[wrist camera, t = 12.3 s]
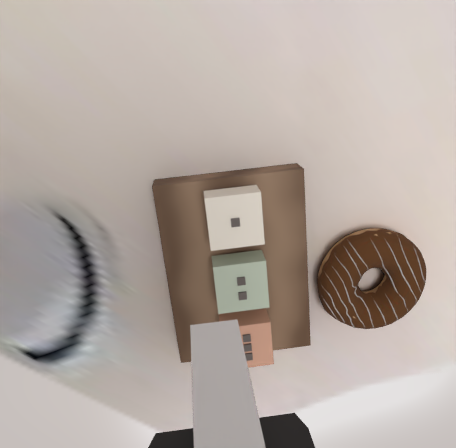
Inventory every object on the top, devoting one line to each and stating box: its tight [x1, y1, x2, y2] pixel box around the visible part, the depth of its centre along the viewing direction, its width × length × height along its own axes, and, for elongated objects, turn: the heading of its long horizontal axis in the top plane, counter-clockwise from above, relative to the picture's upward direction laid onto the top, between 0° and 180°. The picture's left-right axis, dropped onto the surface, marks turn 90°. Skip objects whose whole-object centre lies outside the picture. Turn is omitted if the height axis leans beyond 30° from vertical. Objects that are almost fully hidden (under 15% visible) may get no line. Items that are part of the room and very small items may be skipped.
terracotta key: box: [219, 308, 274, 367], centre depth 39 cm, size 4×4×3 cm
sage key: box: [212, 250, 269, 314], centre depth 37 cm, size 4×4×3 cm
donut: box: [317, 228, 426, 329], centre depth 41 cm, size 11×11×4 cm
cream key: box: [204, 185, 265, 251], centre depth 35 cm, size 4×4×3 cm
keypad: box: [152, 163, 310, 363], centre depth 39 cm, size 13×18×4 cm
